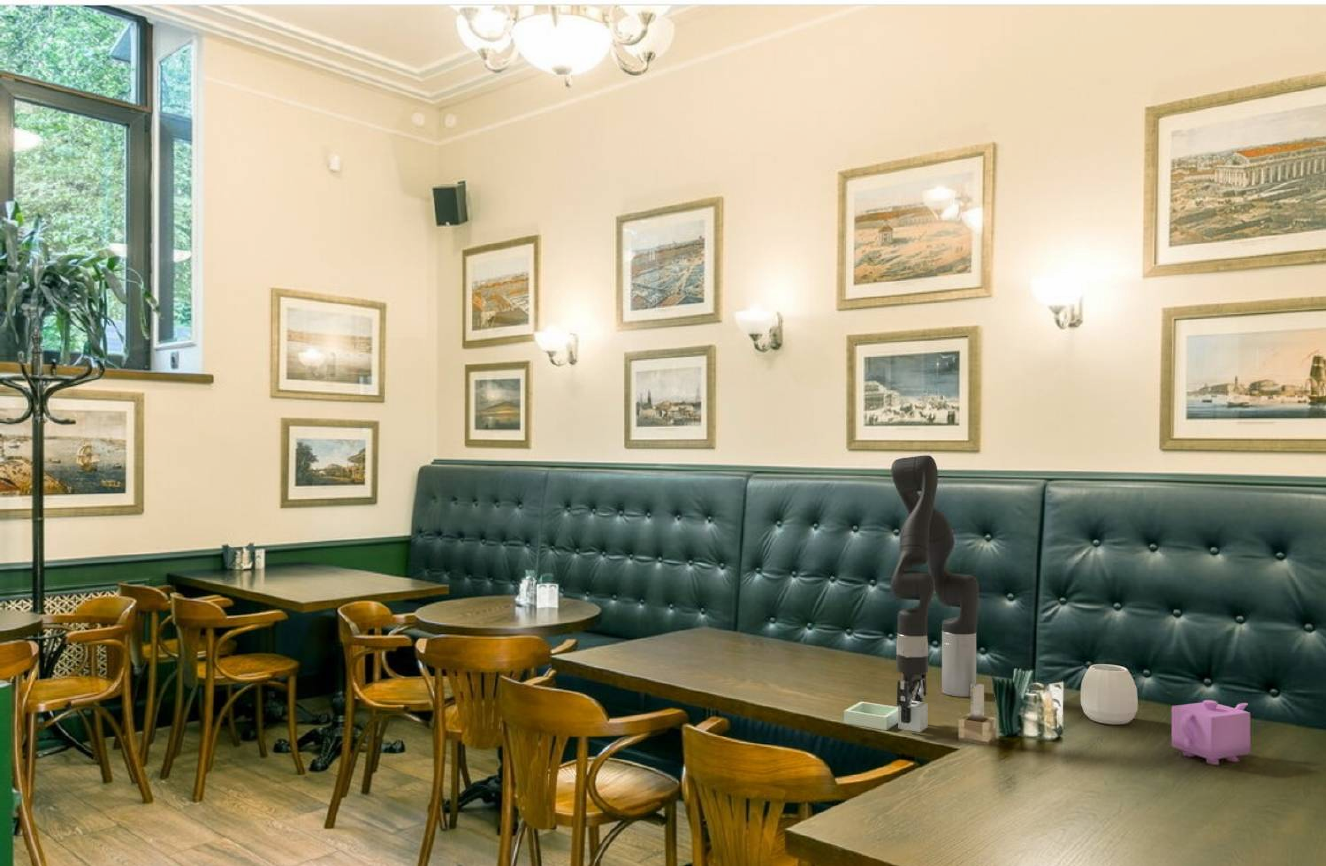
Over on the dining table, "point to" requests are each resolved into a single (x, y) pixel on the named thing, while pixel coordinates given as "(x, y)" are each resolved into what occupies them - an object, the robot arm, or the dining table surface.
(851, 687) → the dining table surface
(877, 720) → the tray
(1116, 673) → the white vase
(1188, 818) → the dining table surface
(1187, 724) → the teapot
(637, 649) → the dining table surface
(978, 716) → the cylinder
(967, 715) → the oak block
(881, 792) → the dining table surface
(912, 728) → the white cube
